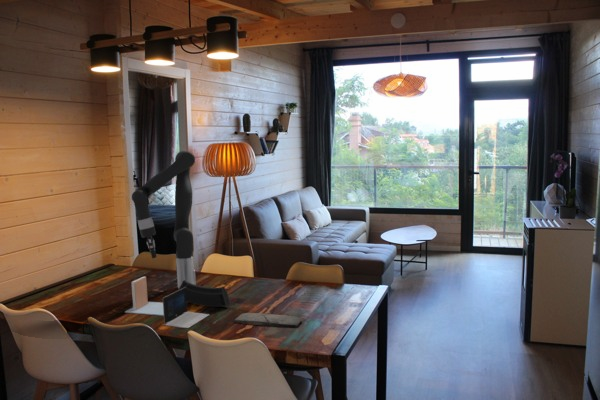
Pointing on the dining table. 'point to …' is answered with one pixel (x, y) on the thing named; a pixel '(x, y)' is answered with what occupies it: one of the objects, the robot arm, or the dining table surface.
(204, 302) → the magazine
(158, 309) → the mat
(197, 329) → the dining table surface
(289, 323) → the stone slab
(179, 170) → the robot arm
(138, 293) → the tile
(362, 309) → the dining table surface
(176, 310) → the laptop
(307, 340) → the dining table surface
